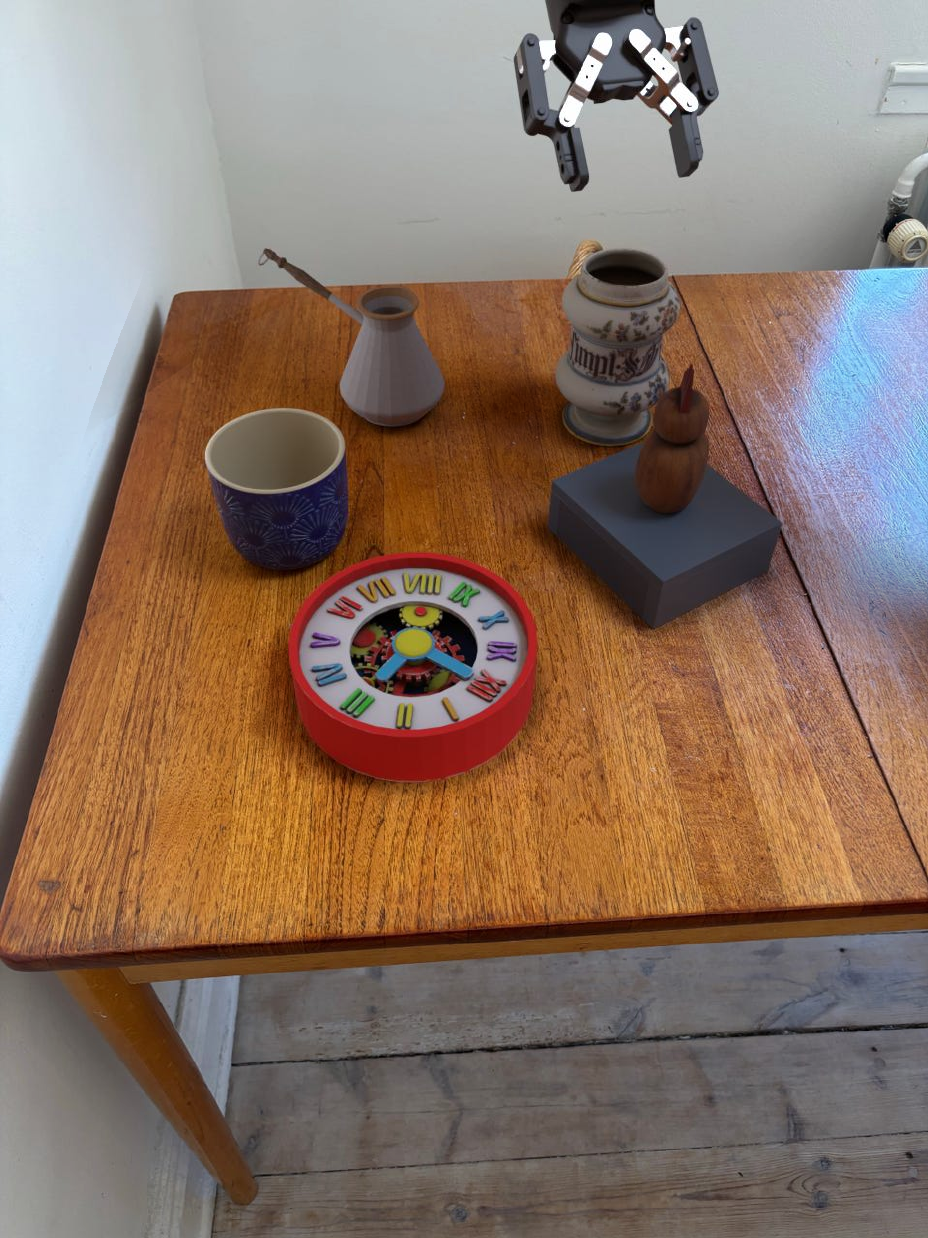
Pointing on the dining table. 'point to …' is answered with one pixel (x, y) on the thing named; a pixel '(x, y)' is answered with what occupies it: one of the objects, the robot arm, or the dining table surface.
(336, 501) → the planter
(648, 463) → the wooden figurine
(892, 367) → the dining table surface
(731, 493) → the grey display pedestal
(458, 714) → the toy clock
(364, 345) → the coffee pot
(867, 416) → the dining table surface
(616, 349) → the apothecary jar
